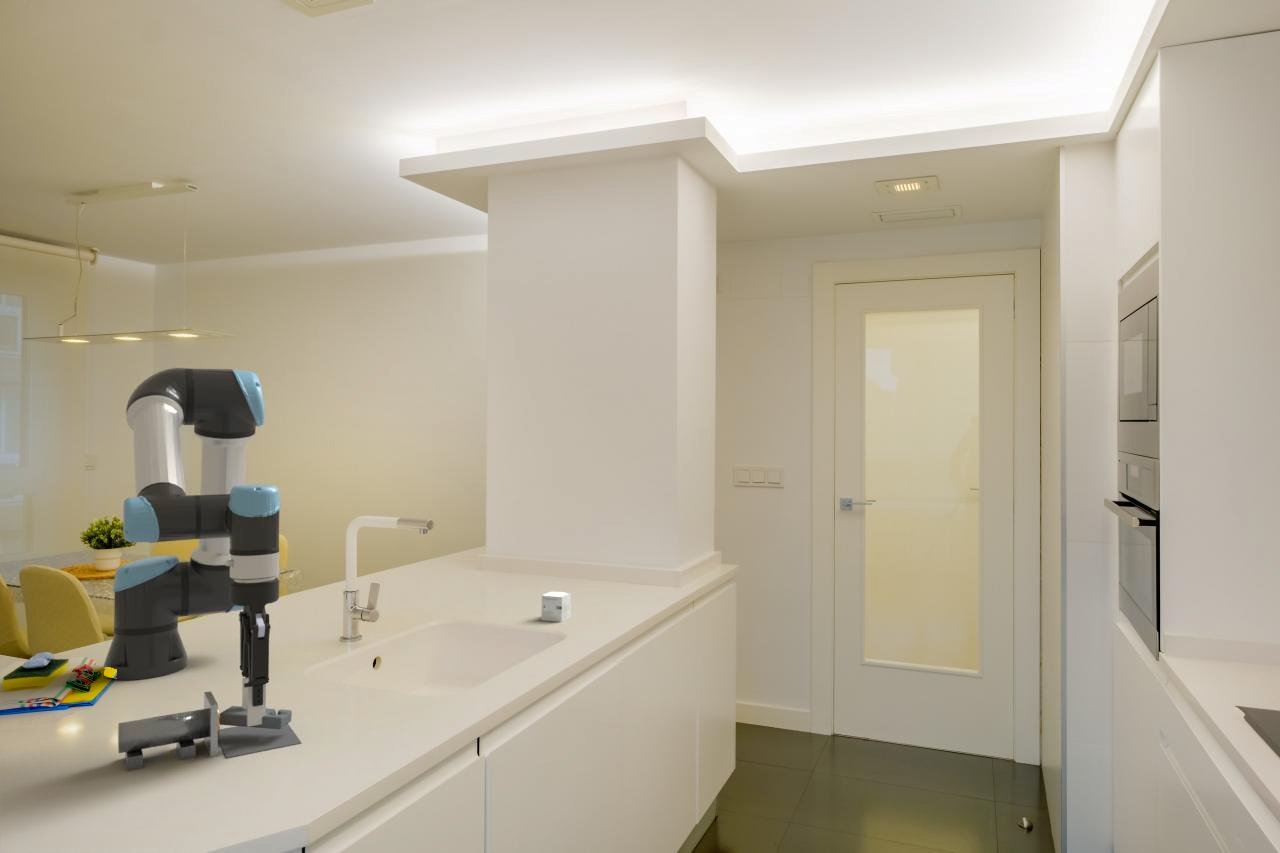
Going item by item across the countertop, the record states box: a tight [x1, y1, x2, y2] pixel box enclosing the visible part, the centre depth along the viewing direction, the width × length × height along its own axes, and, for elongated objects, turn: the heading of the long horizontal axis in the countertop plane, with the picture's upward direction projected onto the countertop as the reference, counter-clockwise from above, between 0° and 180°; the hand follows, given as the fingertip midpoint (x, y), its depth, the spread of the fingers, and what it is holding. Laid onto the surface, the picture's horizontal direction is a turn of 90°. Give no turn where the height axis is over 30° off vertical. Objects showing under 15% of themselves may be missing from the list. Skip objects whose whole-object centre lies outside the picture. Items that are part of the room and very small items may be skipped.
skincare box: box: [541, 591, 572, 623], centre depth 223 cm, size 6×6×7 cm
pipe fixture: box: [117, 691, 221, 772], centre depth 130 cm, size 8×13×8 cm, turn 124°
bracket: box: [219, 705, 293, 729], centre depth 138 cm, size 4×10×2 cm, turn 87°
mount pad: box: [218, 723, 302, 759], centre depth 138 cm, size 14×11×1 cm
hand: (253, 720), depth 138 cm, fingers closed on bracket, 4 cm apart
